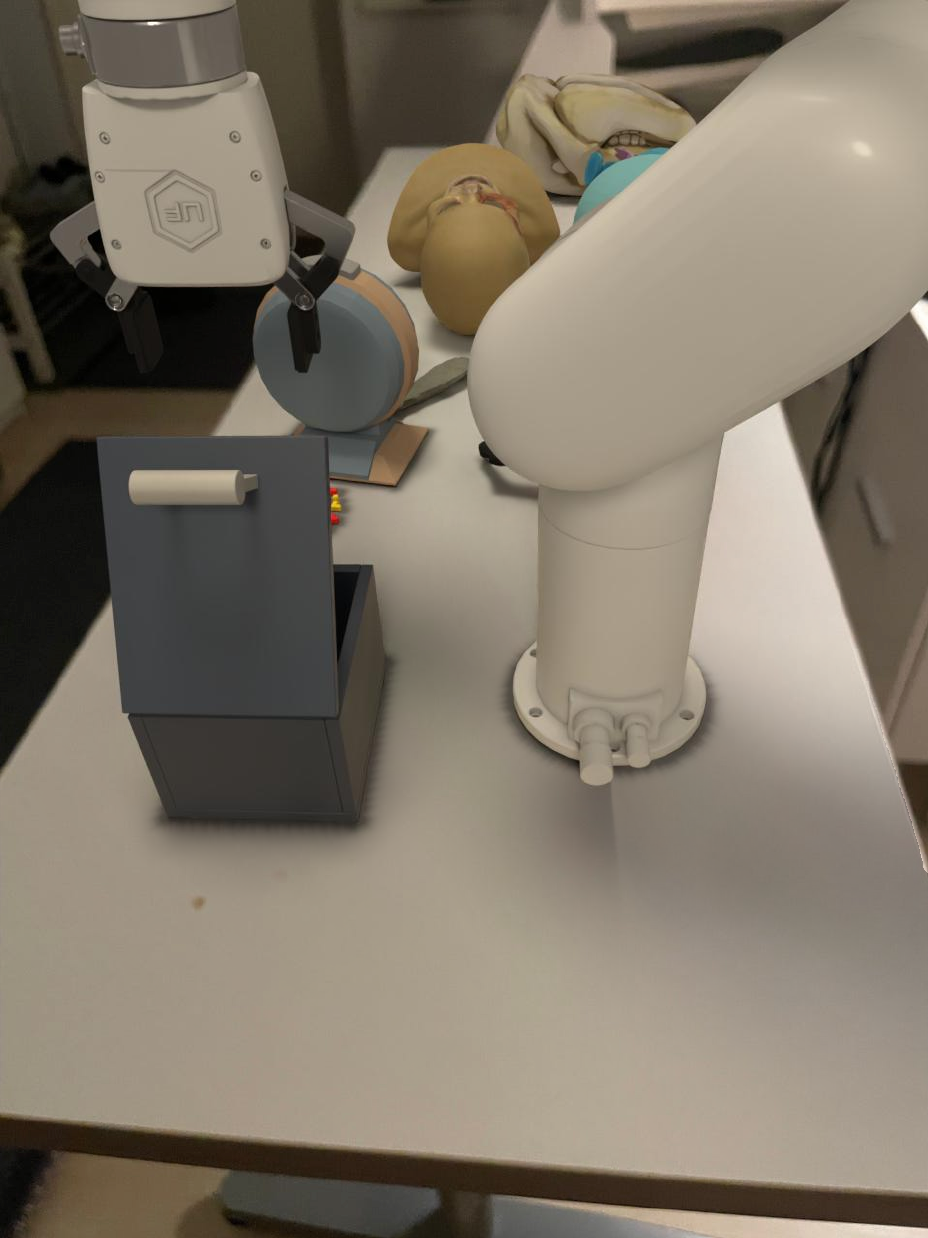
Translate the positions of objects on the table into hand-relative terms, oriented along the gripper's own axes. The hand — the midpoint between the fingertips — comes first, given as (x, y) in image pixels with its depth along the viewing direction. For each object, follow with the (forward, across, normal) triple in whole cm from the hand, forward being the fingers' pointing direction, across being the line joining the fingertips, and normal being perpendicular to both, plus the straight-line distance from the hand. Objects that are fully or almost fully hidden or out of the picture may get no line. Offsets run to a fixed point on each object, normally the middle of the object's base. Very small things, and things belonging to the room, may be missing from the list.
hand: (228, 363), depth 59 cm
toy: (+19, +28, +41) cm, 53 cm away
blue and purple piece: (+11, +28, +68) cm, 75 cm away
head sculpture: (+11, +14, +68) cm, 71 cm away
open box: (+19, +3, -14) cm, 24 cm away
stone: (+18, +12, +30) cm, 37 cm away
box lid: (+4, +3, -17) cm, 17 cm away
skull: (+4, +32, +95) cm, 100 cm away
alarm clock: (+20, +3, +21) cm, 29 cm away
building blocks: (+20, 0, +12) cm, 23 cm away
